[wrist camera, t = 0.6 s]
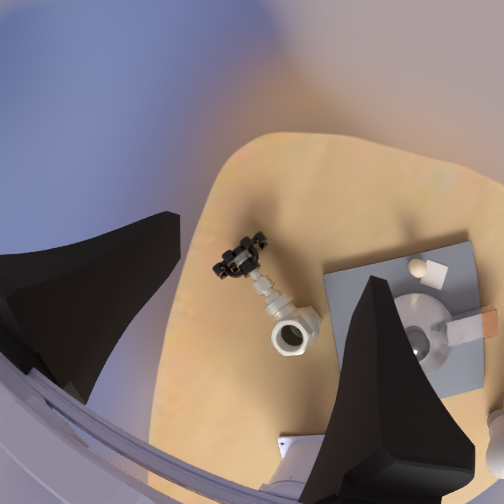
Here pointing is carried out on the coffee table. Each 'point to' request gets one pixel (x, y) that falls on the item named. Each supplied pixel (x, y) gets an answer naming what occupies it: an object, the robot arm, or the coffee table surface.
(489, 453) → the lightbulb
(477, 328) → the silver lidded pan
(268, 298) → the valve
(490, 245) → the coffee table surface
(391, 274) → the board
